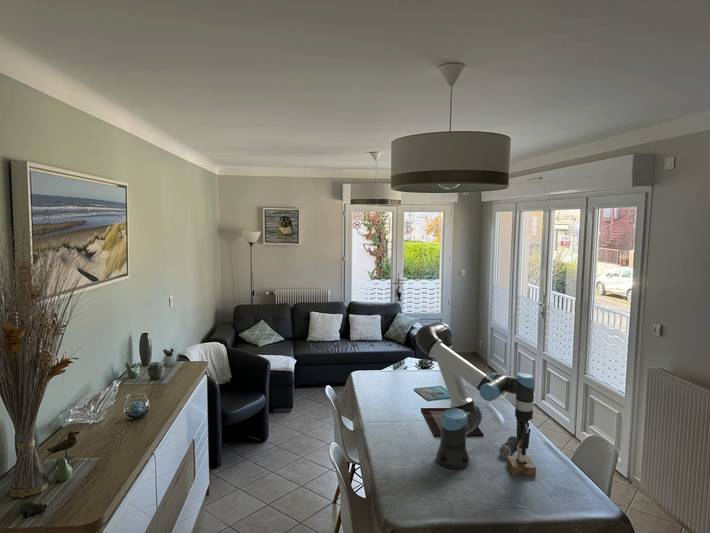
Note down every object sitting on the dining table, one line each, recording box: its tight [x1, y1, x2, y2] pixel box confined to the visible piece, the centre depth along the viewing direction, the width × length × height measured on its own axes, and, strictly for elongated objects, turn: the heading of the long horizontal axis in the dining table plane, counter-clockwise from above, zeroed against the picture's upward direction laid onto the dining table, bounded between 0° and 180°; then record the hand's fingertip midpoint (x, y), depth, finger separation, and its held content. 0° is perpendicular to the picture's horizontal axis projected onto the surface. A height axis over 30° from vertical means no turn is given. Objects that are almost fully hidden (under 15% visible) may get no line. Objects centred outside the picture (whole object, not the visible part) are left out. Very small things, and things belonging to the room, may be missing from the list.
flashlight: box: [498, 435, 518, 459], centre depth 233 cm, size 15×5×5 cm, turn 145°
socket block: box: [506, 455, 537, 477], centre depth 214 cm, size 10×10×4 cm
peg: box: [517, 440, 524, 464], centre depth 214 cm, size 3×3×12 cm
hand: (521, 459), depth 214 cm, fingers closed on peg, 2 cm apart
